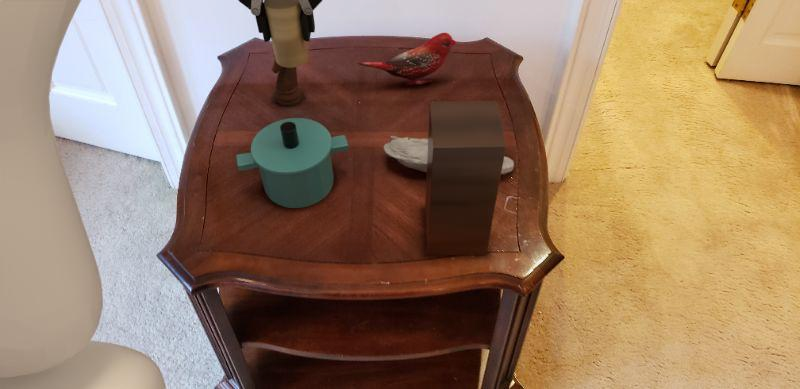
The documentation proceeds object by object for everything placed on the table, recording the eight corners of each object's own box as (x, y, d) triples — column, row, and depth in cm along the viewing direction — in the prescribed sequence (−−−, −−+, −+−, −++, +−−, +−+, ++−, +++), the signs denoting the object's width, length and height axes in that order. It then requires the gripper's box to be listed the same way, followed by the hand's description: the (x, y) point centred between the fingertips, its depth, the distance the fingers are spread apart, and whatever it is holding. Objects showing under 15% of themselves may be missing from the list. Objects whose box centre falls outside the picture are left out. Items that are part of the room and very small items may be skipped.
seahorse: (504, 132, 90) (382, 124, 87) (526, 161, 80) (390, 153, 77) (498, 160, 93) (379, 154, 90) (519, 192, 83) (386, 186, 80)
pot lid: (339, 168, 77) (336, 145, 74) (256, 185, 75) (249, 162, 72) (324, 117, 84) (321, 94, 81) (248, 131, 82) (242, 108, 79)
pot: (357, 196, 83) (353, 160, 77) (250, 218, 80) (238, 182, 74) (343, 150, 89) (339, 114, 84) (244, 169, 87) (233, 133, 81)
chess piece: (270, 98, 98) (259, 50, 91) (292, 85, 101) (283, 37, 94) (287, 109, 96) (278, 60, 89) (309, 96, 99) (301, 47, 91)
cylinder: (307, 67, 78) (298, 9, 72) (273, 67, 78) (261, 9, 72) (310, 48, 82) (302, -10, 75) (277, 48, 82) (266, -9, 75)
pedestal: (486, 254, 75) (506, 146, 60) (427, 255, 75) (433, 147, 60) (479, 210, 81) (496, 100, 66) (425, 210, 81) (429, 101, 66)
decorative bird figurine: (456, 84, 101) (460, 36, 94) (360, 97, 99) (357, 48, 91) (452, 75, 103) (455, 27, 95) (358, 87, 100) (354, 39, 93)
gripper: (181, -90, 61) (222, 52, 75) (335, -91, 61) (347, 51, 75) (197, -115, 66) (232, 22, 80) (339, -116, 66) (350, 21, 80)
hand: (288, 35), depth 77 cm, fingers closed on cylinder, 4 cm apart
